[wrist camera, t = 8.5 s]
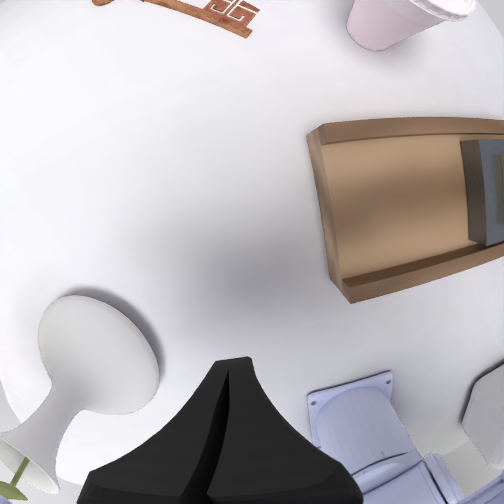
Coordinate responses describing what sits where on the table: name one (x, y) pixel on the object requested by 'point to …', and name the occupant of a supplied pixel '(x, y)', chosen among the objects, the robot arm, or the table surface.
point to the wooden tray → (397, 201)
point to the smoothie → (400, 19)
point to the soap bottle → (487, 417)
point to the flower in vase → (78, 384)
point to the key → (211, 13)
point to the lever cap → (484, 189)
